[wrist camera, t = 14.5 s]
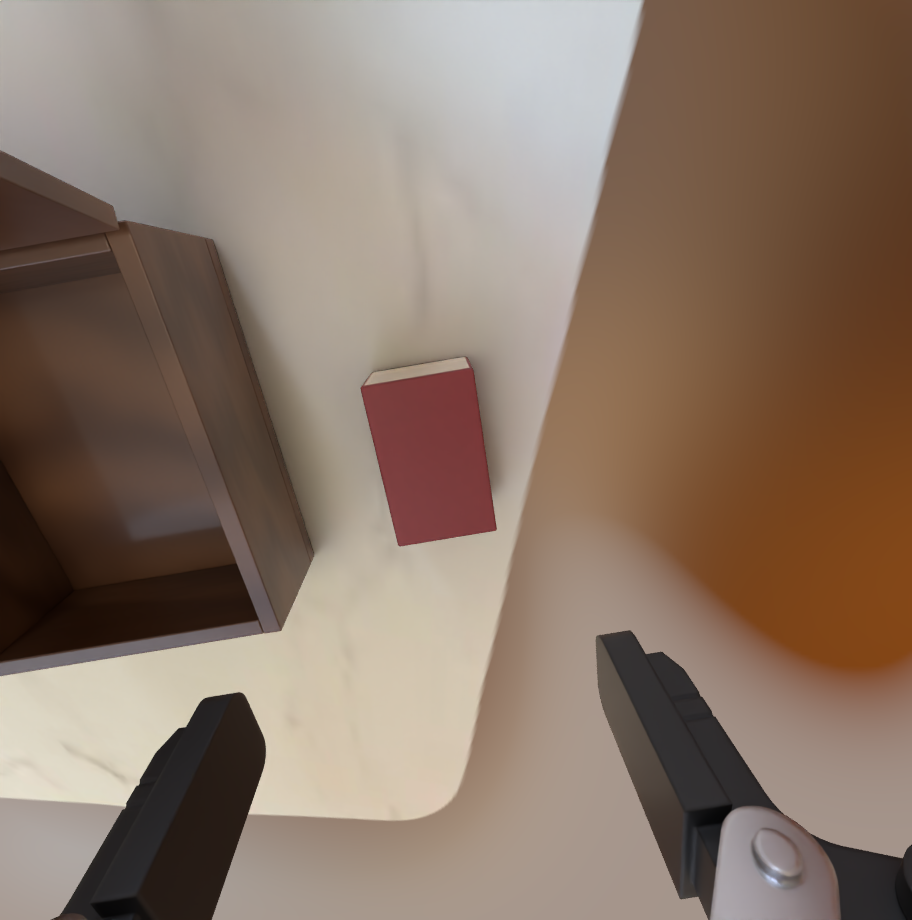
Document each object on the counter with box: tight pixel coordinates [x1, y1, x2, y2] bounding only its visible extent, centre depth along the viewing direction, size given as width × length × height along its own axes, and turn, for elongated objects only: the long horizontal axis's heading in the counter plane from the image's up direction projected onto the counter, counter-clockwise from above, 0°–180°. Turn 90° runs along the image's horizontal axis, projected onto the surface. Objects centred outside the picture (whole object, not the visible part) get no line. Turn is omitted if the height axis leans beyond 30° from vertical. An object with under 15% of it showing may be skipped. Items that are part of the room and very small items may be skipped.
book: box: [361, 357, 497, 546], centre depth 25 cm, size 9×6×4 cm, turn 9°
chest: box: [0, 220, 314, 676], centre depth 23 cm, size 19×16×7 cm
